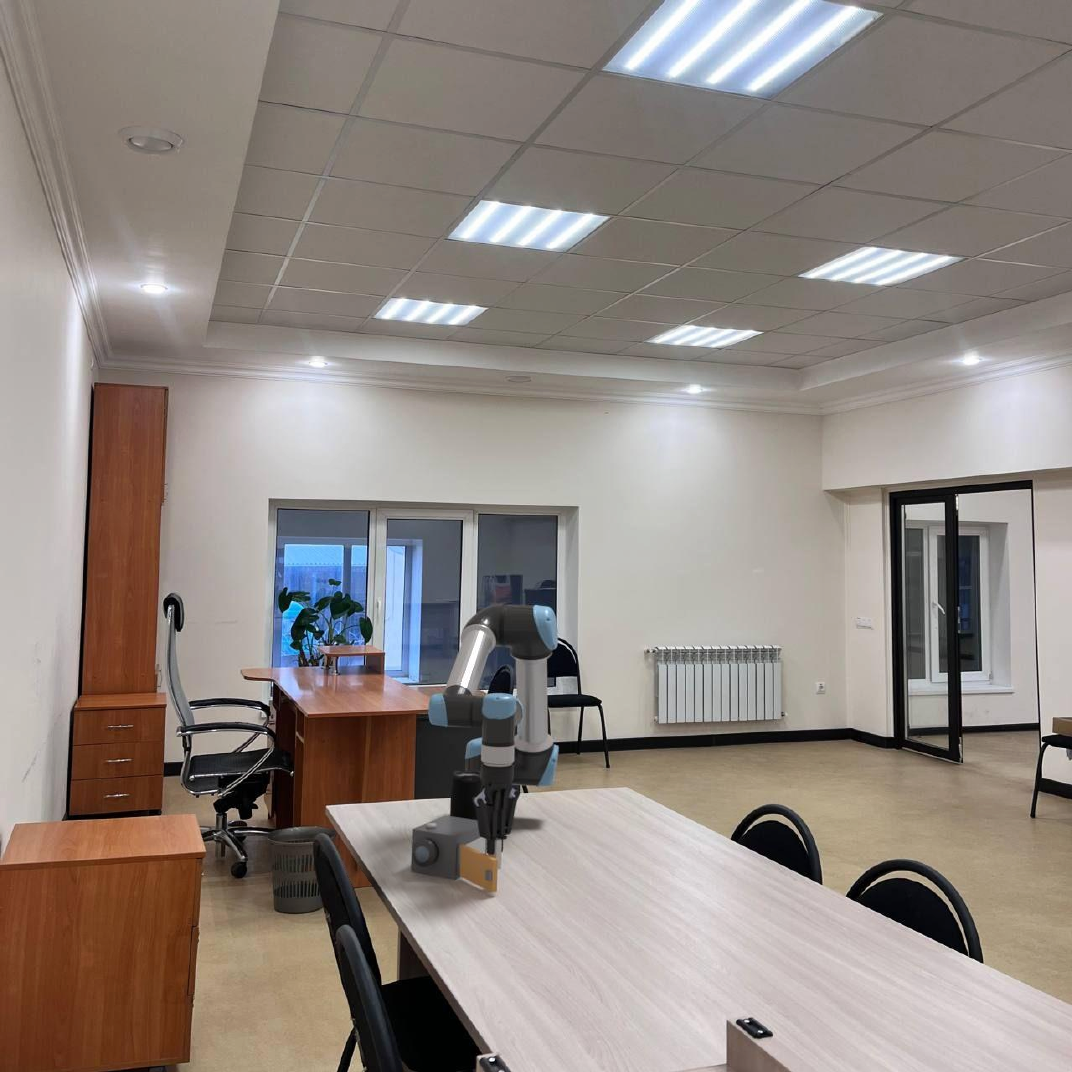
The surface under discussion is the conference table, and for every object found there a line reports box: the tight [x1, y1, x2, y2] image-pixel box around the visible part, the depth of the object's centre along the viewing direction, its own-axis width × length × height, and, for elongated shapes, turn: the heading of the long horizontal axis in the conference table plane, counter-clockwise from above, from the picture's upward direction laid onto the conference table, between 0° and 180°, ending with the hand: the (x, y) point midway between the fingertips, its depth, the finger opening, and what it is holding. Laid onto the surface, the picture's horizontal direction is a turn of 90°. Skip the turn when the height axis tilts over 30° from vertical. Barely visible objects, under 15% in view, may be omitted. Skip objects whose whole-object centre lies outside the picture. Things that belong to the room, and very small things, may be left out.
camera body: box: [410, 814, 487, 881], centre depth 232 cm, size 18×12×11 cm
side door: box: [458, 844, 498, 893], centre depth 219 cm, size 14×2×7 cm, turn 38°
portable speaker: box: [449, 770, 482, 820], centre depth 249 cm, size 9×9×20 cm
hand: (494, 867), depth 219 cm, fingers closed
